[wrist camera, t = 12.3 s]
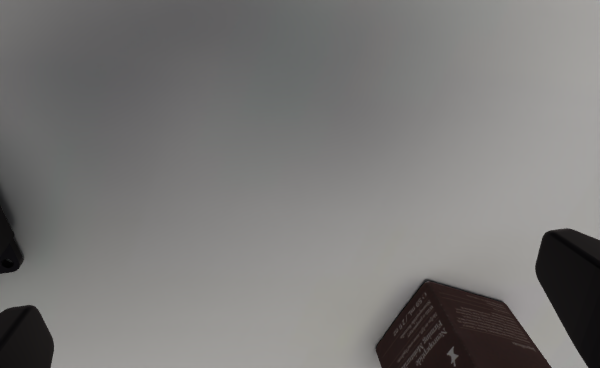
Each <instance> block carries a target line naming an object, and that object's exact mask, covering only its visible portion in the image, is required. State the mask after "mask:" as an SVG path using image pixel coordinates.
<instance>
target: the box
mask: <svg viewBox="0 0 600 368" xmlns="http://www.w3.org/2000/svg"><path fill="white" fill-rule="evenodd" d="M376 352H377V355H378V358H379V361H380V364H381V367H382V368H551V366H550V365H549V364H548V362H547V360H546V359H545V358H544V357H543V355H542V354H541V352H540V351H539V350H538V348H537V347H536V345H535V344H534V343H533V341H532V340H531V338H530V337H529V335H528V334H527V332H526V331H525V330H524V329H523V327H522V326H521V324H520V323H519V322H518V320H517V319H516V317H515V316H514V315H513V313H512V312H511V310H510V309H509V308H508V306H507V305H506V304H505V303H503V302H499V301H496V300H492V299H489V298H486V297H482V296H478V295H475V294H471V293H468V292H464V291H461V290H458V289H454V288H451V287H448V286H444V285H442V284H438V283H434V282H430V281H427V282H425V283H424V284H423V285H422V287H421V288H420V289H419V290H418V292H417V293H416V294H415V295H414V296H413V298H412V299H411V300H410V302H409V303H408V304H407V306H406V307H405V308H404V309H403V311H402V312H401V313H400V315H399V316H398V317H397V319H396V320H395V321H394V323H393V324H392V325H391V327H390V329H389V330H388V331H387V332H386V334H385V336H384V337H383V339H382V340H381V341H380V342H379V344H378V345H377V347H376Z"/></svg>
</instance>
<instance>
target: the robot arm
mask: <svg viewBox="0 0 600 368" xmlns="http://www.w3.org/2000/svg"><path fill="white" fill-rule="evenodd" d="M13 237H14V233H13V231H12V229H11V227H10V225H9V223H8V220H7V218H6V216H5V214H4V212H3V210H2V208H1V206H0V274H2V273H9V272H14V271H16V270H18V269H19V267H20V266H21V264H22V262H23V256H22V254H21V252H20V250H19V248H18V246H17V244H16V242H15V240H14V238H13ZM6 259H9V260H11V261H12V262H9V261H7V260H6ZM535 270H536V275H537V278H538V280H539V282H540V284H541V286H542V287H543V289H544V291H545V293H546V295H547V297H548V298H549V300H550V302H551V304H552V306H553V308H554V309H555V311H556V313H557V315H558V317H559V319H560V320H561V322H562V324H563V326H564V328H565V330H566V331H567V333H568V335H569V337H570V339H571V340H572V342H573V344H574V346H575V347H576V349H577V351H578V352H579V354H580V355H581V357H582V359H583V360H584V362H585V363H586V365H587V366H588V368H600V240H598V239H595V238H593V237H590V236H588V235H585V234H583V233H580V232H578V231H575V230H572V229H567V228H566V229H558V230H551V231H548V232H546V233H545V234H544V235H543V238H542V241H541V245H540V249H539V253H538V257H537V261H536V265H535ZM53 352H54V342H53V338H52V336H51V334H50V332H49V330H48V328H47V326H46V324H45V322H44V320H43V318H42V316H41V314H40V312H39V310H38V309H37V308H36V307H35V306H32V305H26V306H19V307H12V308H8V309H6V310H4V311H3V312H1V313H0V368H51V363H52V358H53Z"/></svg>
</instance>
